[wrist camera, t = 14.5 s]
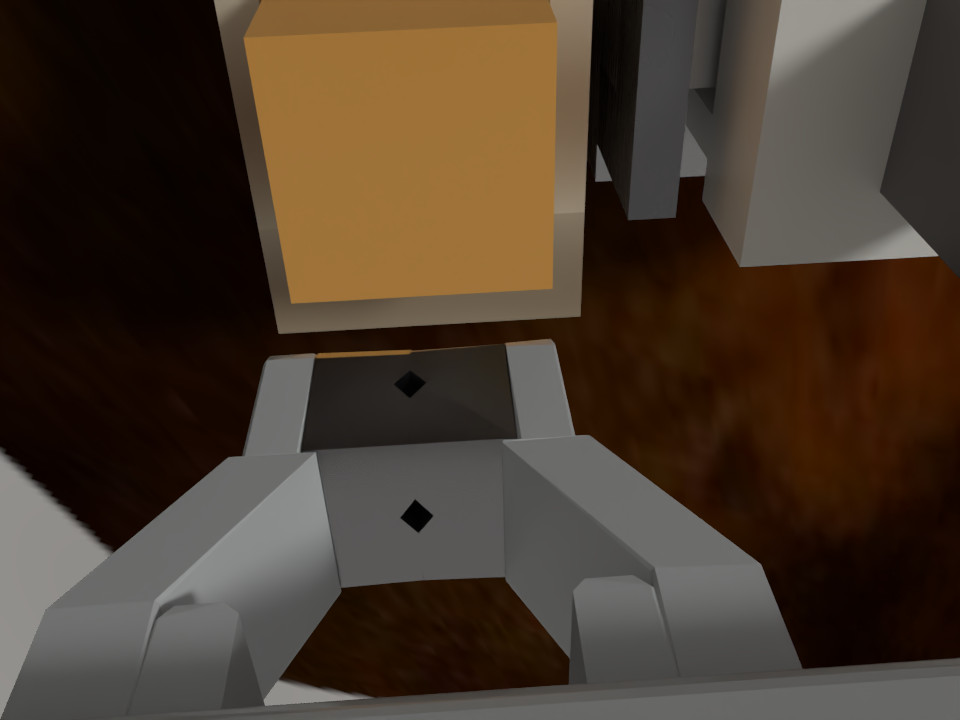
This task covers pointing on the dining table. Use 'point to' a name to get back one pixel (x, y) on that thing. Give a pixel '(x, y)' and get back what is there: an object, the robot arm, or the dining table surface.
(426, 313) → the box
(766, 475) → the dining table surface
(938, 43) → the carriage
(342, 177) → the orange cube
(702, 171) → the rail
